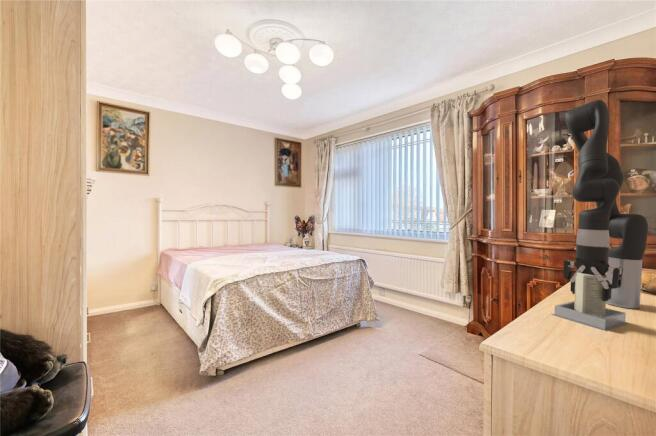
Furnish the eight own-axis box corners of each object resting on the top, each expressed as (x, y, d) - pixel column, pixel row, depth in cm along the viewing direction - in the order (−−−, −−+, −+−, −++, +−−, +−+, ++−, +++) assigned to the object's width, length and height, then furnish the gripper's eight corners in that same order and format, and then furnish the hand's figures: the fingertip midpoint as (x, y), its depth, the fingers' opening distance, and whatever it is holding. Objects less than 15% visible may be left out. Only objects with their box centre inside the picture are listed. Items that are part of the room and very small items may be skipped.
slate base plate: (573, 310, 101) (573, 308, 101) (629, 325, 88) (629, 323, 88) (550, 316, 95) (550, 314, 95) (606, 334, 82) (606, 331, 82)
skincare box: (595, 310, 93) (597, 272, 93) (606, 315, 89) (607, 275, 88) (573, 309, 94) (574, 271, 94) (582, 314, 90) (583, 274, 90)
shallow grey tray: (575, 309, 100) (575, 300, 100) (625, 322, 89) (625, 312, 89) (554, 314, 95) (554, 305, 94) (604, 329, 83) (605, 319, 83)
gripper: (558, 241, 96) (556, 292, 96) (617, 247, 83) (614, 306, 83) (571, 240, 99) (569, 289, 100) (629, 246, 86) (626, 302, 87)
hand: (589, 297), depth 91 cm, fingers closed on skincare box, 7 cm apart
